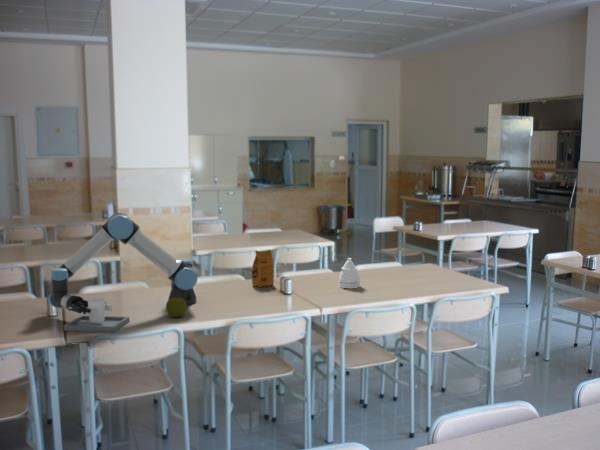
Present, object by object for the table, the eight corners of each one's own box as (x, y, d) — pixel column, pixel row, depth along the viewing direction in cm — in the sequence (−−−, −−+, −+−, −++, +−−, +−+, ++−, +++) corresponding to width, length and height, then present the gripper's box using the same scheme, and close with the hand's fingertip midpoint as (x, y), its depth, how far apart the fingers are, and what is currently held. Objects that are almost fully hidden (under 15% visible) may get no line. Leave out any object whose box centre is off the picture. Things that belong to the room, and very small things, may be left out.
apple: (168, 320, 296) (167, 298, 295) (164, 315, 305) (164, 294, 304) (188, 318, 300) (188, 296, 299) (184, 313, 309) (183, 292, 308)
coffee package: (250, 285, 375) (249, 250, 373) (267, 283, 382) (267, 248, 379) (257, 288, 367) (257, 252, 364) (275, 285, 373) (275, 250, 371)
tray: (129, 321, 294) (129, 316, 293) (114, 332, 276) (114, 327, 276) (81, 320, 296) (81, 315, 296) (63, 331, 278) (63, 325, 278)
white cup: (90, 318, 289) (89, 298, 288) (107, 318, 290) (106, 297, 289) (86, 323, 281) (85, 302, 280) (103, 322, 282) (103, 301, 281)
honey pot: (360, 289, 365) (360, 259, 362) (339, 289, 365) (339, 259, 363) (358, 284, 377) (359, 256, 375) (338, 284, 377) (338, 255, 375)
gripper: (90, 306, 304) (121, 313, 291) (54, 315, 287) (85, 322, 274) (90, 291, 303) (120, 297, 290) (53, 299, 286) (84, 306, 273)
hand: (103, 309), depth 282 cm, fingers closed on white cup, 8 cm apart
